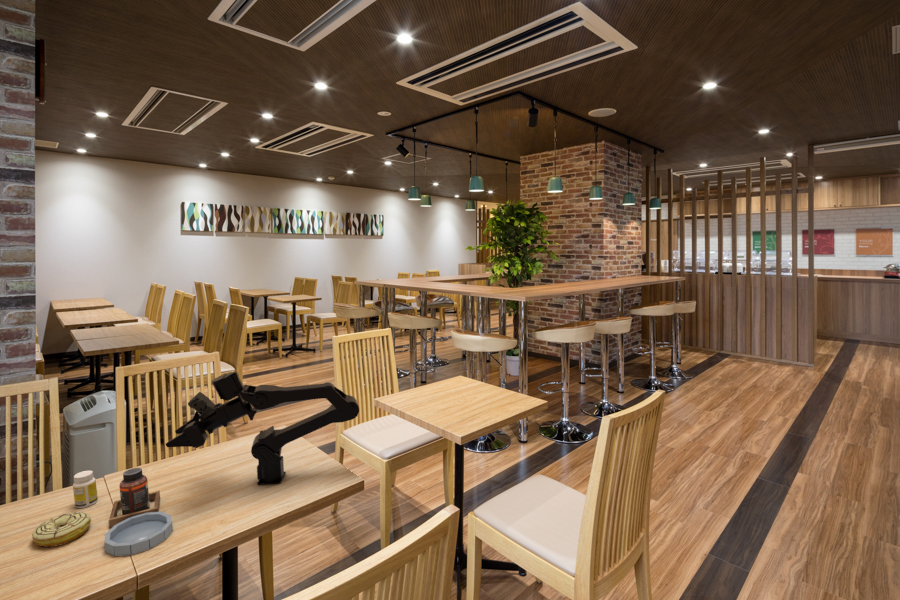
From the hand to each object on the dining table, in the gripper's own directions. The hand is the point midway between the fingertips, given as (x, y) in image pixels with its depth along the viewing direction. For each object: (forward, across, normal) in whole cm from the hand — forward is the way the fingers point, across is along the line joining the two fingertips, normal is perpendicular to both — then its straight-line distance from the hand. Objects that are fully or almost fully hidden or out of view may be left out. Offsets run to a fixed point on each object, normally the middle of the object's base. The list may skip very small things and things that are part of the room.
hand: (171, 438), depth 124 cm
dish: (+8, +20, +14) cm, 25 cm away
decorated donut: (+25, +13, +8) cm, 29 cm away
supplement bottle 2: (+13, +7, +12) cm, 19 cm away
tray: (+12, +7, +12) cm, 19 cm away
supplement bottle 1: (+26, -2, +7) cm, 27 cm away
